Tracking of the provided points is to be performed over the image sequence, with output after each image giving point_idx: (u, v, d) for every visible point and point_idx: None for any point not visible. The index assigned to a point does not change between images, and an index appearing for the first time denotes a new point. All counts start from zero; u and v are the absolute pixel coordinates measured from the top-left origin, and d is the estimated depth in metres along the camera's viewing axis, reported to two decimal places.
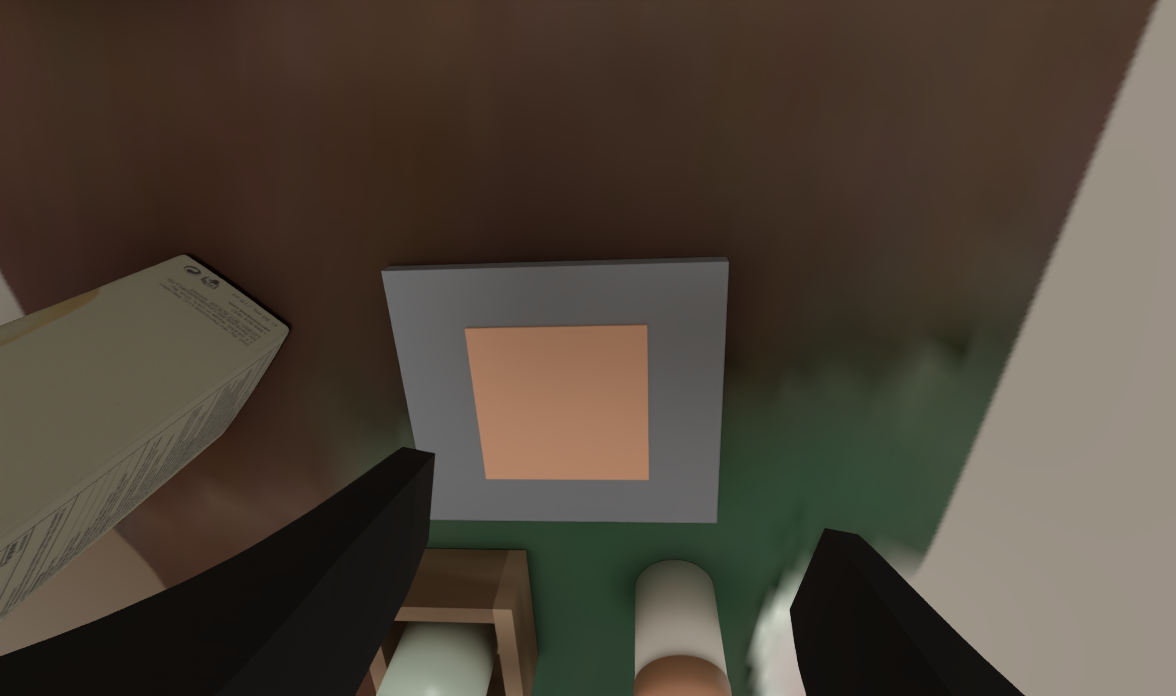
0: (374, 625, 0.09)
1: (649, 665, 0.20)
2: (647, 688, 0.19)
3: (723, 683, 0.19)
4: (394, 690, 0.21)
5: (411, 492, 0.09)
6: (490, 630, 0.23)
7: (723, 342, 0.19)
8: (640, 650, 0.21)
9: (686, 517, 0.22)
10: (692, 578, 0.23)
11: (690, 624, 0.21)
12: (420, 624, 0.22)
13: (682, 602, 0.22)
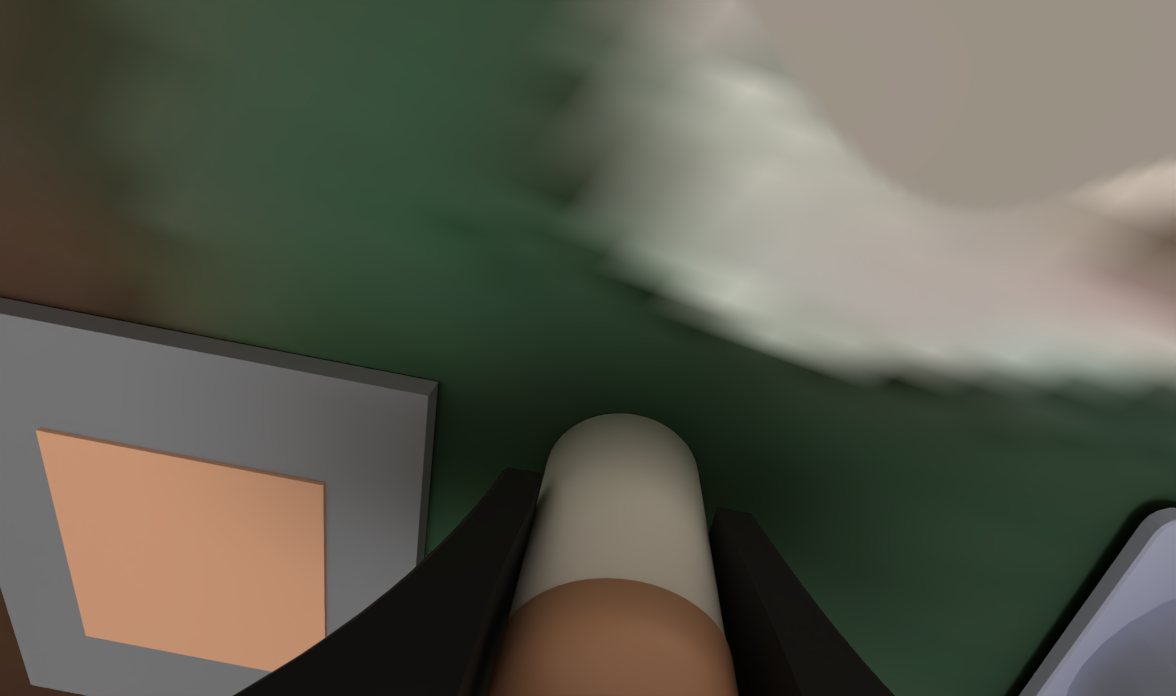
0: (497, 648, 0.09)
1: None
2: None
3: (552, 615, 0.07)
4: None
5: (529, 516, 0.09)
6: None
7: (51, 324, 0.11)
8: None
9: (413, 442, 0.12)
10: (551, 464, 0.11)
11: (524, 558, 0.09)
12: None
13: None
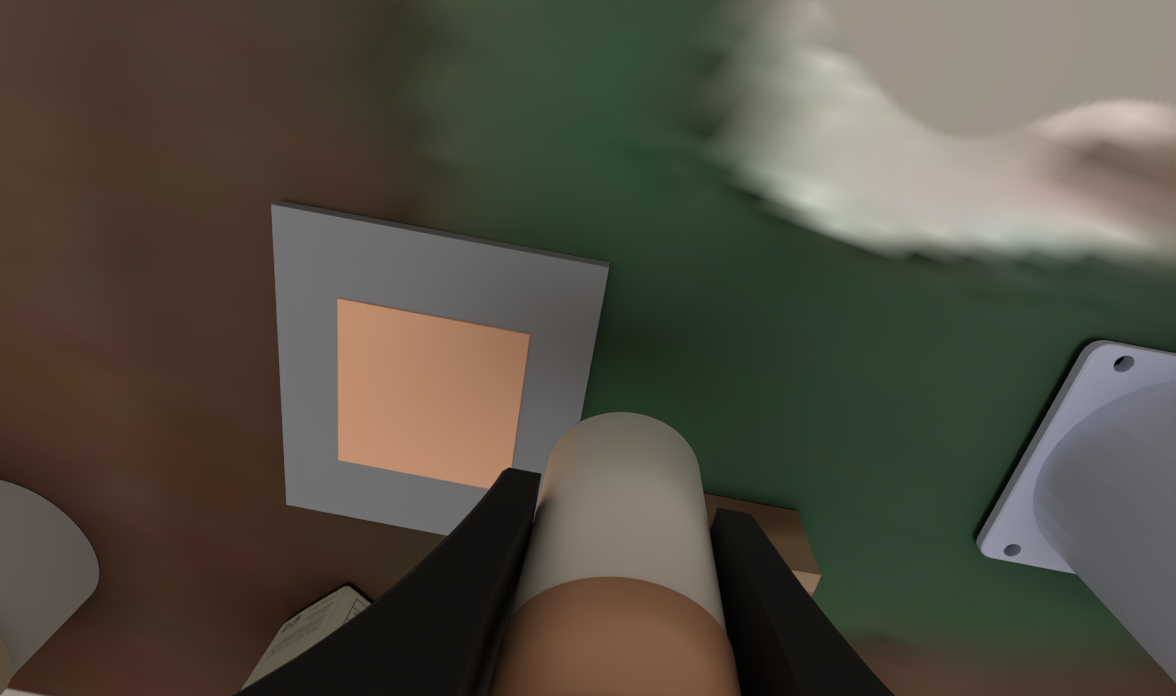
0: (497, 648, 0.09)
1: None
2: None
3: (555, 614, 0.07)
4: None
5: (530, 516, 0.09)
6: None
7: (362, 222, 0.17)
8: None
9: (594, 302, 0.17)
10: (553, 463, 0.11)
11: (526, 556, 0.09)
12: None
13: None
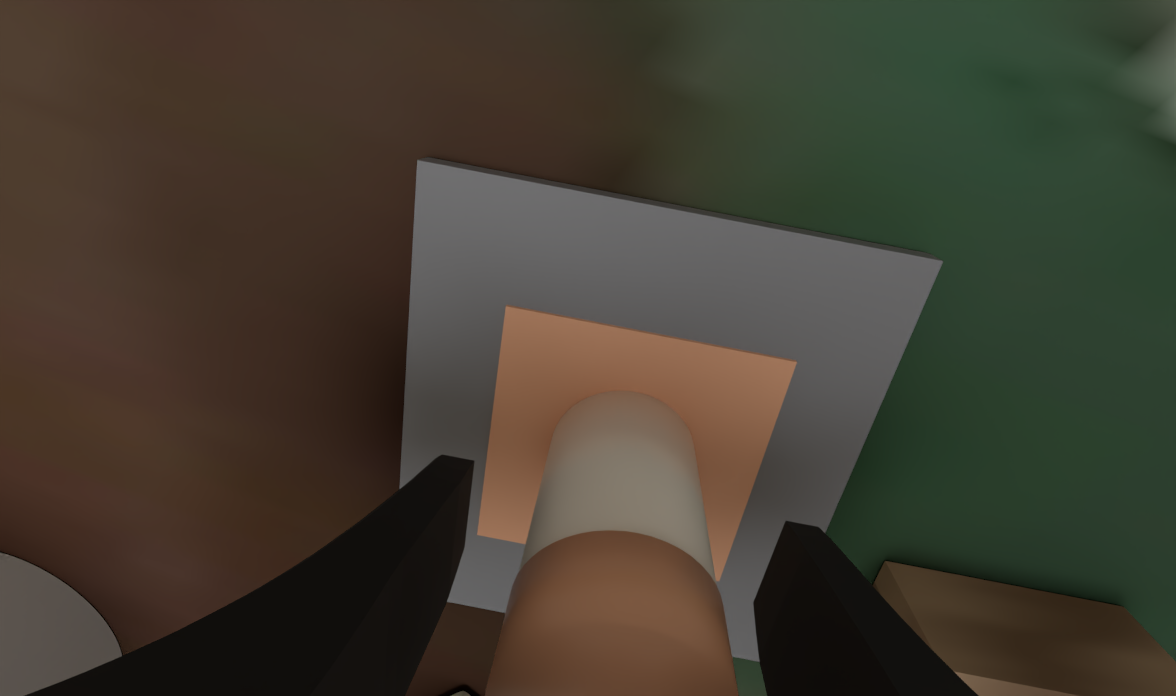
0: (419, 633, 0.09)
1: None
2: None
3: (561, 562, 0.08)
4: None
5: (455, 501, 0.09)
6: None
7: (558, 189, 0.11)
8: None
9: (907, 313, 0.11)
10: (557, 437, 0.12)
11: (533, 518, 0.10)
12: None
13: None
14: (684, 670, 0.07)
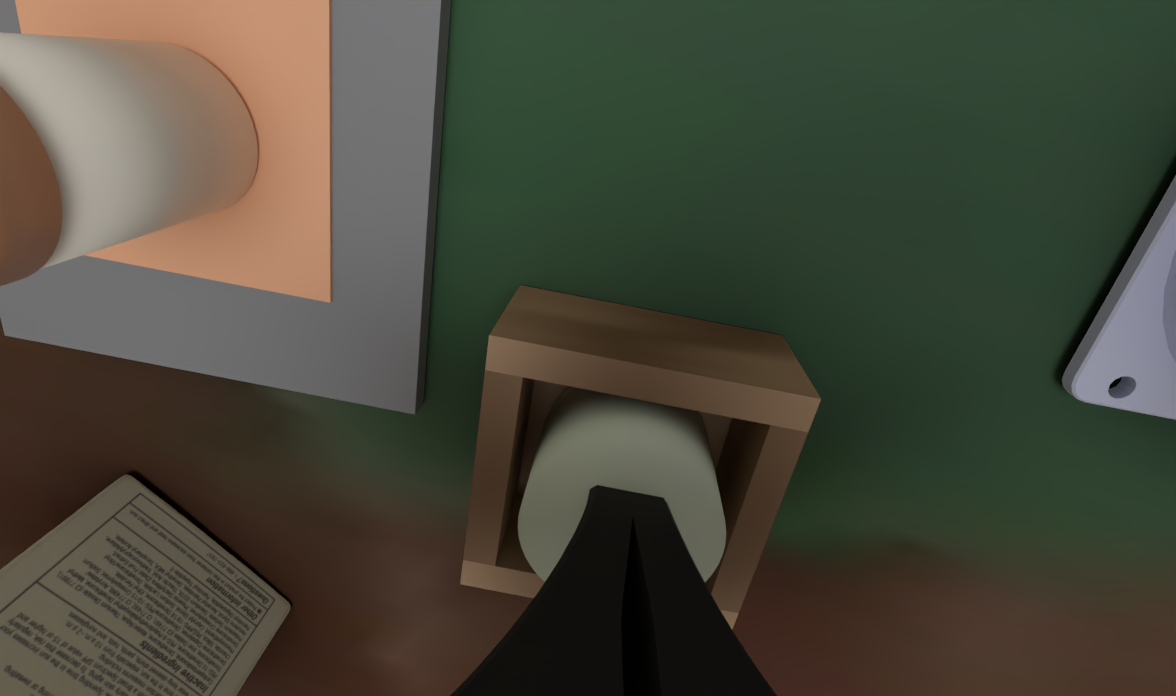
0: None
1: None
2: None
3: None
4: None
5: None
6: None
7: None
8: None
9: None
10: None
11: None
12: None
13: None
14: None
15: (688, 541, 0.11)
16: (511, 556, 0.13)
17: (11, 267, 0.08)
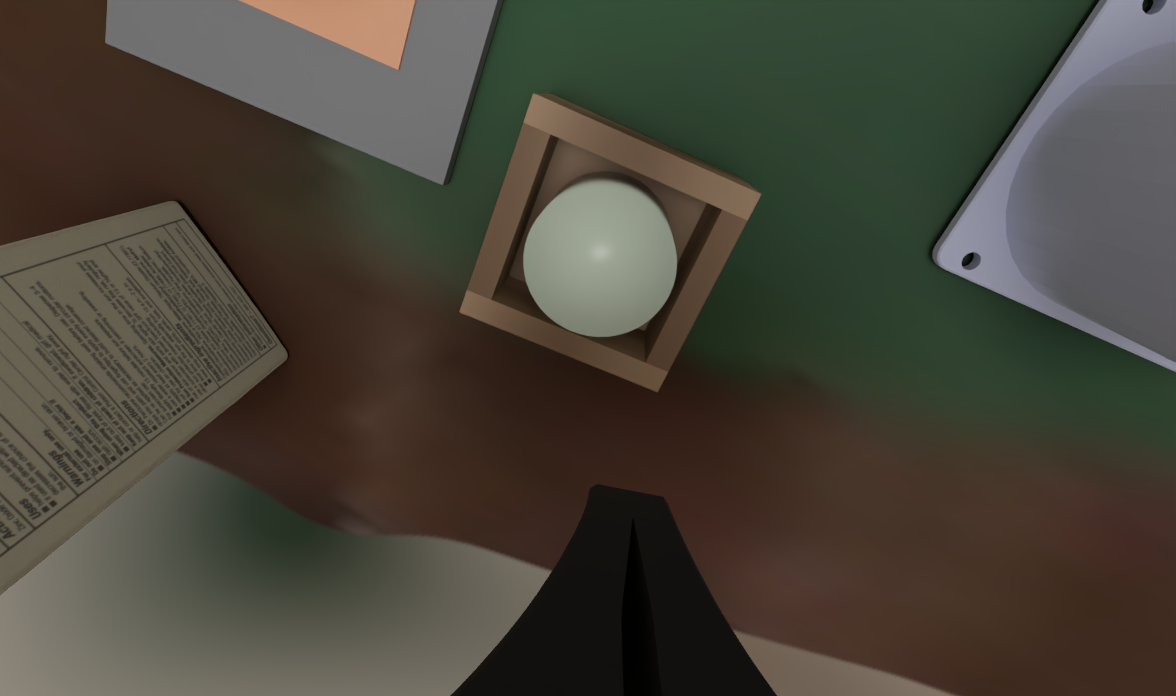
0: None
1: None
2: None
3: None
4: (548, 287, 0.15)
5: None
6: (603, 172, 0.16)
7: None
8: None
9: None
10: None
11: None
12: None
13: None
14: None
15: (647, 280, 0.15)
16: (503, 299, 0.16)
17: None
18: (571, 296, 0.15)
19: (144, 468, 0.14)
